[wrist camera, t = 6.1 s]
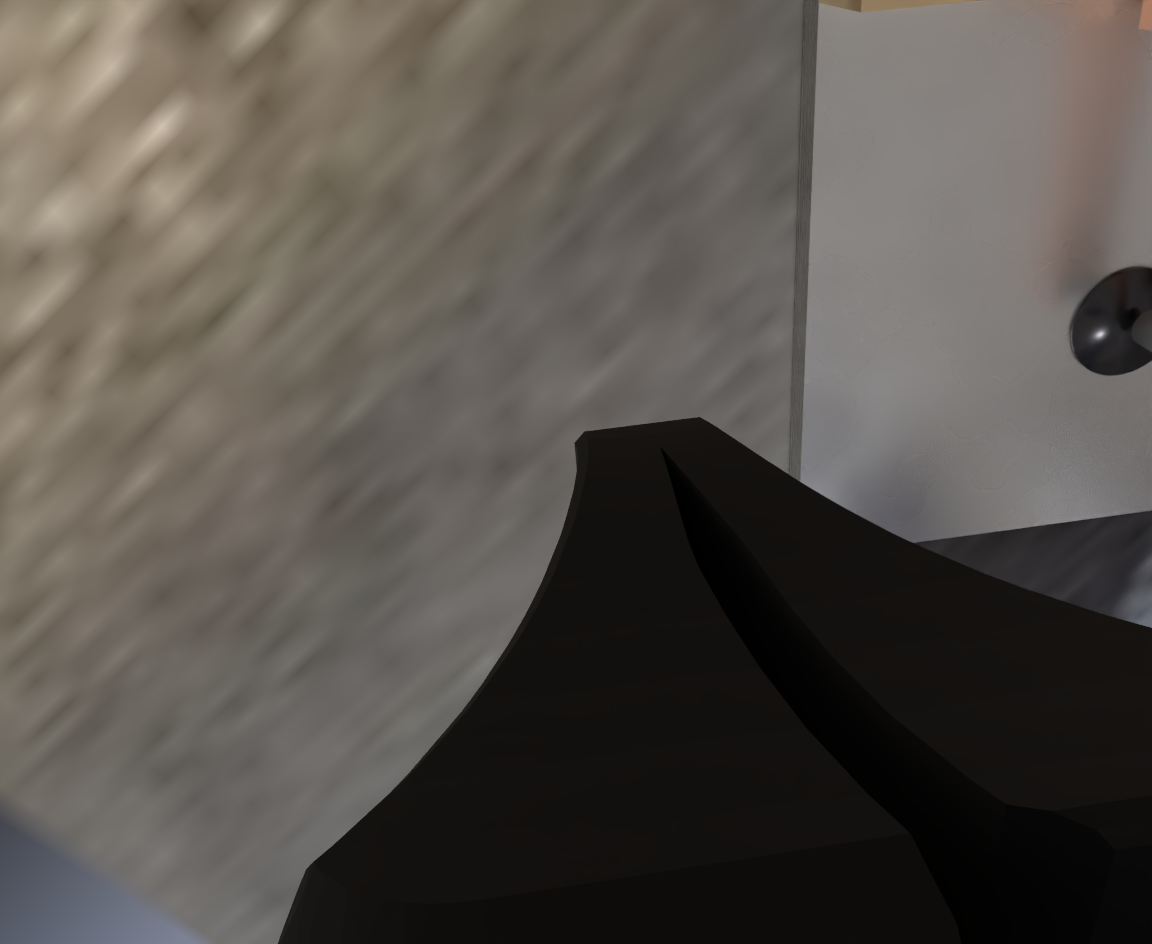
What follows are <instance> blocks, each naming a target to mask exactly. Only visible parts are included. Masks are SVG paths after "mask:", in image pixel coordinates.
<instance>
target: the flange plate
mask: <svg viewBox="0 0 1152 944" xmlns="http://www.w3.org/2000/svg"><path fill="white" fill-rule="evenodd" d="M1143 1H1144V0H981V1H971V2H961V3H951V4H941V5H931V6H921V7H911V8H901V9H891V10H880V11H870V12H857V11H852V10H848V9H844V8H839V7H835V6H830V5H826V4H821V3H819V0H804V22H803V53H802V85H801V116H800V148H799V179H798V210H797V242H796V273H795V305H794V336H793V368H792V399H791V431H790V462H789V475H790V476H792V477H794V478H795V479H797V480H798V481H800V482H802V483H803V484H805V485H806V486H808V487H810V488H811V489H813V490H815V491H816V492H818V493H820V494H821V495H823V496H825V497H827V498H828V499H830V500H832V501H834V502H835V503H837V504H839V505H841V506H842V507H844V508H846V509H848V510H850V511H851V512H853V513H855V514H857V515H859V516H861V517H863V518H865V519H867V520H868V521H870V522H872V523H874V524H876V525H878V526H880V527H882V528H884V529H885V530H887V531H889V532H891V533H893V534H895V535H897V536H899V537H901V538H903V539H906V540H908V541H910V542H912V543H917V542H924V541H931V540H939V539H946V538H953V537H961V536H968V535H975V534H983V533H990V532H997V531H1005V530H1012V529H1019V528H1027V527H1034V526H1041V525H1049V524H1056V523H1063V522H1071V521H1078V520H1085V519H1093V518H1100V517H1107V516H1115V515H1122V514H1129V513H1137V512H1144V511H1151V510H1152V352H1151V351H1149V350H1147V349H1146V348H1144V347H1142V346H1141V345H1139V344H1137V343H1136V342H1135V341H1134V340H1133V338H1132V335H1131V331H1132V327H1133V324H1134V322H1135V321H1136V320H1137V318H1138V317H1139V316H1140V315H1142V314H1143V313H1144V312H1146V311H1148V310H1151V309H1152V31H1150V30H1144V29H1138V28H1139V22H1140V17H1141V12H1142V6H1143Z"/></svg>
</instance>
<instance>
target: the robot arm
mask: <svg viewBox="0 0 1152 944" xmlns="http://www.w3.org/2000/svg"><path fill="white" fill-rule="evenodd" d="M575 452H576V464H577V474H576V479H575V485H574V491H573V495H572V498H571V502H570V505H569V509H568V513H567V516H566V520H565V523H564V527H563V530H562V533H561V536H560V539H559V541H558V544H557V546H556V548H555V551H554V553H553V556H552V558H551V561H550V563H549V566H548V568H547V571H546V573H545V576H544V578H543V580H542V583H541V585H540V587H539V589H538V591H537V593H536V595H535V597H534V599H533V601H532V603H531V605H530V607H529V609H528V611H527V613H526V615H525V617H524V618H523V620H522V622H521V624H520V625H519V627H518V629H517V631H516V632H515V634H514V636H513V638H512V639H511V641H510V643H509V644H508V646H507V647H506V649H505V650H504V652H503V653H502V655H501V656H500V658H499V659H498V661H497V663H496V664H495V666H494V667H493V669H492V670H491V672H490V673H489V675H488V676H487V678H486V679H485V681H484V682H483V684H482V685H481V686H480V688H479V689H478V691H477V692H476V693H475V695H474V696H473V697H472V699H471V700H470V701H469V703H468V704H467V705H466V707H465V708H464V709H463V711H462V712H461V713H460V714H459V715H458V717H457V718H456V719H455V720H454V721H453V722H452V724H451V725H450V726H449V727H448V728H447V729H446V731H445V732H444V733H443V734H442V735H441V736H440V738H439V739H438V740H437V741H436V742H435V743H434V745H433V746H432V747H431V748H430V749H429V750H428V752H427V753H426V754H425V755H424V756H423V757H422V759H421V760H420V761H419V762H418V763H417V764H416V766H415V767H414V768H413V769H412V770H411V771H410V773H409V774H408V775H407V776H406V777H405V778H404V779H403V780H402V781H401V782H400V783H399V784H398V785H397V786H396V787H395V788H394V789H393V790H392V791H391V792H390V793H389V794H388V795H387V796H386V797H385V798H384V799H383V800H382V801H381V802H380V803H379V804H378V805H376V806H375V807H374V808H373V809H372V810H371V811H370V812H369V813H368V814H367V815H366V816H364V817H363V818H362V819H361V820H360V821H359V822H358V823H357V824H356V825H355V826H354V827H353V828H351V829H350V830H349V831H348V832H347V833H346V834H345V835H344V836H343V837H342V838H341V839H340V840H338V841H337V842H336V843H335V844H334V845H333V846H332V847H331V848H329V849H328V850H327V851H326V852H325V853H323V854H322V855H321V856H320V857H319V858H318V859H316V860H315V861H314V862H313V863H312V864H311V865H310V866H309V867H308V868H307V869H306V871H305V874H304V876H303V878H302V881H301V883H300V886H299V888H298V891H297V893H296V896H295V899H294V901H293V904H292V907H291V909H290V912H289V915H288V917H287V920H286V923H285V925H284V928H283V931H282V933H281V936H280V939H279V942H278V944H1152V628H1150V627H1146V626H1143V625H1139V624H1135V623H1132V622H1128V621H1125V620H1121V619H1118V618H1114V617H1110V616H1107V615H1104V614H1100V613H1097V612H1094V611H1091V610H1088V609H1085V608H1082V607H1079V606H1076V605H1073V604H1069V603H1066V602H1063V601H1060V600H1057V599H1054V598H1051V597H1048V596H1045V595H1042V594H1039V593H1036V592H1033V591H1030V590H1027V589H1024V588H1021V587H1019V586H1016V585H1013V584H1010V583H1008V582H1005V581H1002V580H1000V579H997V578H994V577H992V576H989V575H986V574H984V573H981V572H979V571H977V570H974V569H972V568H970V567H967V566H965V565H963V564H960V563H958V562H955V561H953V560H951V559H948V558H946V557H944V556H941V555H939V554H937V553H934V552H932V551H929V550H927V549H925V548H923V547H920V546H918V545H916V544H914V543H912V542H910V541H908V540H906V539H903V538H901V537H899V536H897V535H895V534H893V533H891V532H889V531H887V530H885V529H884V528H882V527H880V526H878V525H876V524H874V523H872V522H870V521H868V520H867V519H865V518H863V517H861V516H859V515H857V514H855V513H853V512H851V511H850V510H848V509H846V508H844V507H842V506H841V505H839V504H837V503H835V502H834V501H832V500H830V499H828V498H827V497H825V496H823V495H821V494H820V493H818V492H816V491H815V490H813V489H811V488H810V487H808V486H806V485H805V484H803V483H802V482H800V481H798V480H797V479H795V478H794V477H792V476H790V475H789V474H787V473H786V472H784V471H782V470H781V469H779V468H778V467H776V466H775V465H773V464H772V463H770V462H768V461H767V460H765V459H764V458H762V457H761V456H759V455H758V454H756V453H755V452H753V451H752V450H750V449H749V448H747V447H746V446H744V445H743V444H741V443H740V442H738V441H737V440H735V439H734V438H732V437H731V436H729V435H728V434H726V433H725V432H723V431H722V430H720V429H719V428H717V427H716V426H714V425H712V424H711V423H709V422H707V421H706V420H704V419H702V418H700V417H697V418H689V419H681V420H673V421H665V422H657V423H649V424H641V425H633V426H625V427H617V428H610V429H602V430H594V431H586V432H584V433H583V434H582V435H581V436H580V437H579V439H578V440H577V441H576V442H575Z"/></svg>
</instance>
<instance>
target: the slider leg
mask: <svg viewBox="0 0 1152 944" xmlns="http://www.w3.org/2000/svg"><path fill="white" fill-rule="evenodd" d="M1138 29H1144V30H1150V31H1152V0H1144V1H1143V6H1142V12H1141V17H1140V22H1139V28H1138ZM1131 335H1132V338H1133V340H1134V341H1135V342H1136V343H1137V344H1139V345H1141V346H1142V347H1144V348H1146V349H1147V350H1149V351H1151V352H1152V309H1151V310H1148V311H1146V312H1144V313H1143V314H1142V315H1140V316H1139V317H1138V318H1137V320H1136V321H1135V322H1134V324H1133V327H1132V331H1131Z"/></svg>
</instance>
